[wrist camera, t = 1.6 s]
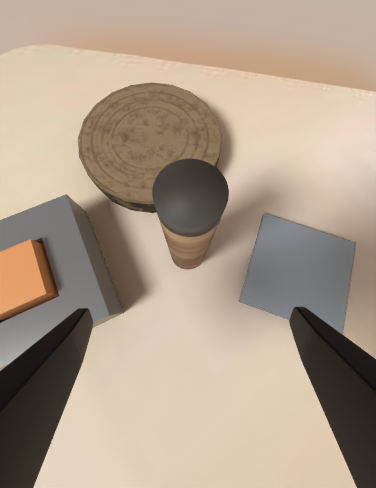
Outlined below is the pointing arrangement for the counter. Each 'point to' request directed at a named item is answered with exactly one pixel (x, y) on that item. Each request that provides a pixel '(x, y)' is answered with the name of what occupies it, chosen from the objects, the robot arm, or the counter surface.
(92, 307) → the grey square block
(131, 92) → the brown ringed flat disc
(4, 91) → the counter surface
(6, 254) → the button
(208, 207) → the dark-capped brown cylinder
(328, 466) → the counter surface
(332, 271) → the mat
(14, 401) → the robot arm
